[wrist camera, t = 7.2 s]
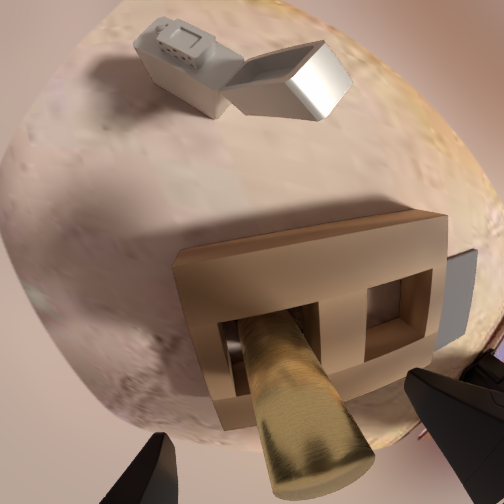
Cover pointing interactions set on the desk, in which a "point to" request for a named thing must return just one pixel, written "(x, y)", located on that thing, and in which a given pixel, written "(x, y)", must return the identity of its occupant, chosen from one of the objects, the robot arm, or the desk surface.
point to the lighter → (242, 74)
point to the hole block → (319, 300)
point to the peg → (299, 412)
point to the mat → (456, 297)
